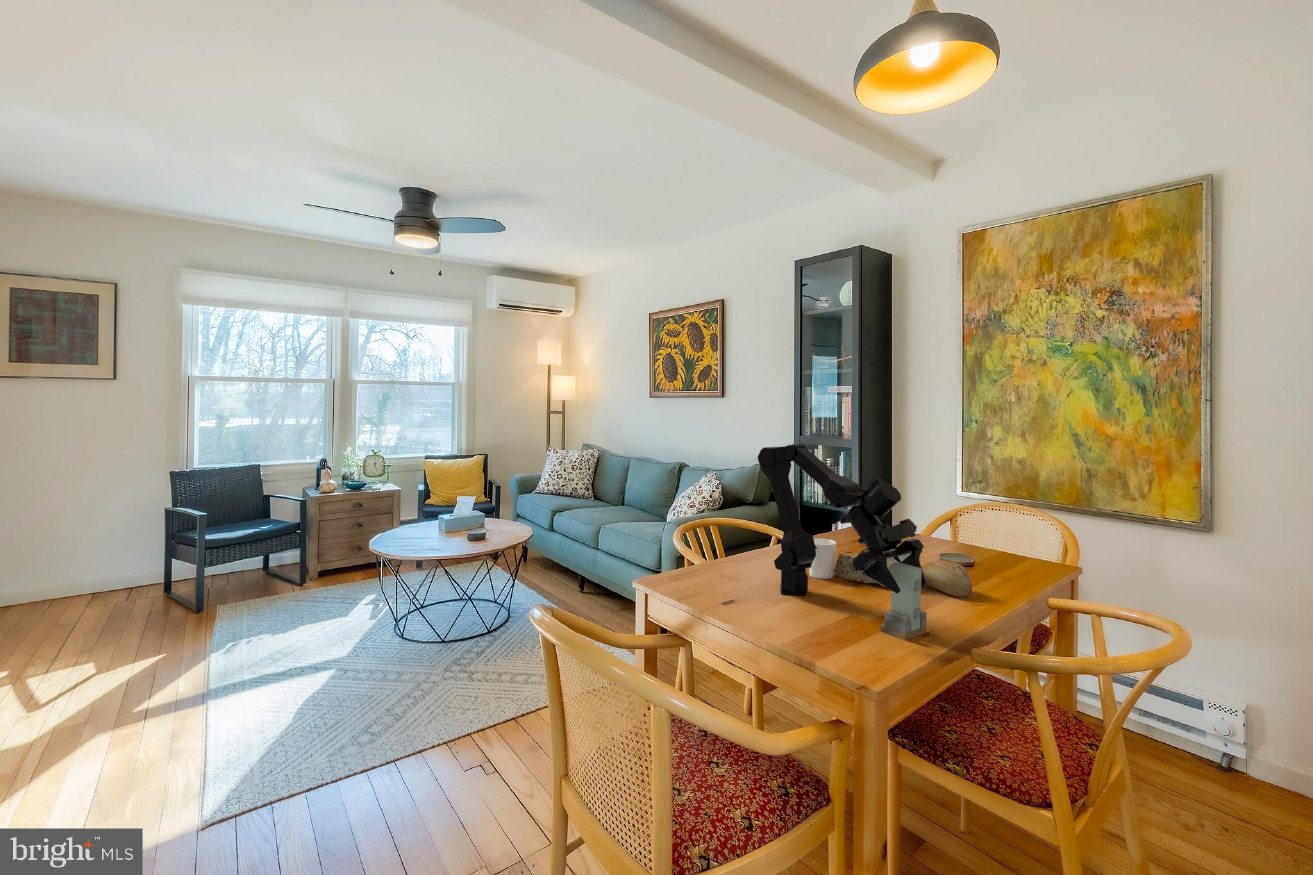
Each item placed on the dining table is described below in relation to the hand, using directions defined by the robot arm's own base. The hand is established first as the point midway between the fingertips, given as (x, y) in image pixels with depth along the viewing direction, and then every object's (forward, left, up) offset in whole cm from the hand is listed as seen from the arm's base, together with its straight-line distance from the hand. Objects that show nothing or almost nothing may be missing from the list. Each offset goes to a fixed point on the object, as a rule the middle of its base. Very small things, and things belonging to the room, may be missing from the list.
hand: (912, 588), depth 124 cm
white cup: (-14, +41, -10) cm, 45 cm away
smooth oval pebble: (+17, +33, -10) cm, 39 cm away
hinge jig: (-1, +1, -10) cm, 10 cm away
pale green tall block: (-1, +1, -9) cm, 9 cm away
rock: (0, +40, -10) cm, 42 cm away
